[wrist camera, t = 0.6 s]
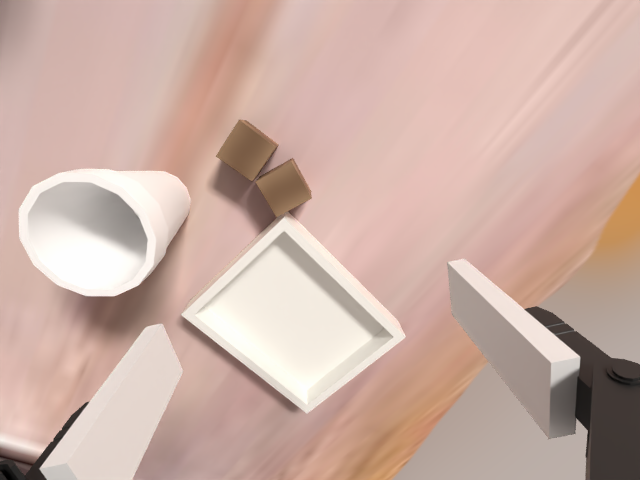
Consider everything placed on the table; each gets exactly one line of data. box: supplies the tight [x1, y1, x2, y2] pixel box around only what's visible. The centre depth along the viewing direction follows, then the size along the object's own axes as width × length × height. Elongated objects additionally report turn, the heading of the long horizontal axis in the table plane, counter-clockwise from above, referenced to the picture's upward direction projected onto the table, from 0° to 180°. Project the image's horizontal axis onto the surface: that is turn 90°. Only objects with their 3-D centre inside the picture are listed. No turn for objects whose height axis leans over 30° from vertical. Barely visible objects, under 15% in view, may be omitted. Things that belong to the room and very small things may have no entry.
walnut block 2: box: [256, 158, 312, 217], centre depth 35 cm, size 4×4×4 cm
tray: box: [181, 211, 406, 413], centre depth 40 cm, size 20×16×4 cm
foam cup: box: [19, 169, 191, 296], centre depth 30 cm, size 10×9×13 cm
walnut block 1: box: [216, 120, 278, 181], centre depth 33 cm, size 4×4×4 cm
